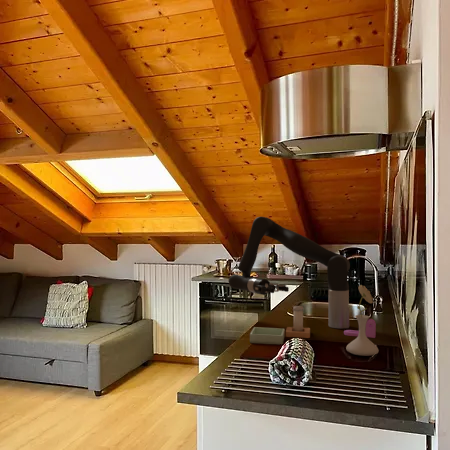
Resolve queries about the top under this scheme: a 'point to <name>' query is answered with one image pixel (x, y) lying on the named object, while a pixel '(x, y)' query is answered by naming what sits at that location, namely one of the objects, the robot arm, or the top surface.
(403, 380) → the top surface
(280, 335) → the tray
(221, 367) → the top surface
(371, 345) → the flower in vase
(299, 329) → the cylinder
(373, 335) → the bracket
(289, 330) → the fuse holder
